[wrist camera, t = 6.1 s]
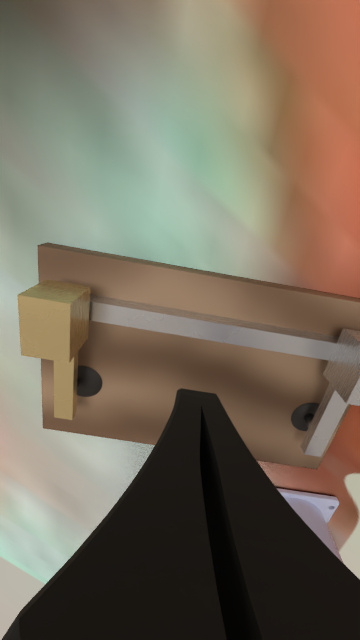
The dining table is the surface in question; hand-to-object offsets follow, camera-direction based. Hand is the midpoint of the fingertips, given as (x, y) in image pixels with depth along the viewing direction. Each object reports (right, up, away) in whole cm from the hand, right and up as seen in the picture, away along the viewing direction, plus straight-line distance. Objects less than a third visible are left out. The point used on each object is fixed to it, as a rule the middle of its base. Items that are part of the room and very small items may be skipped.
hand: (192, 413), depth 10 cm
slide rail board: (+1, 0, +11) cm, 11 cm away
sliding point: (-7, +2, +9) cm, 11 cm away
